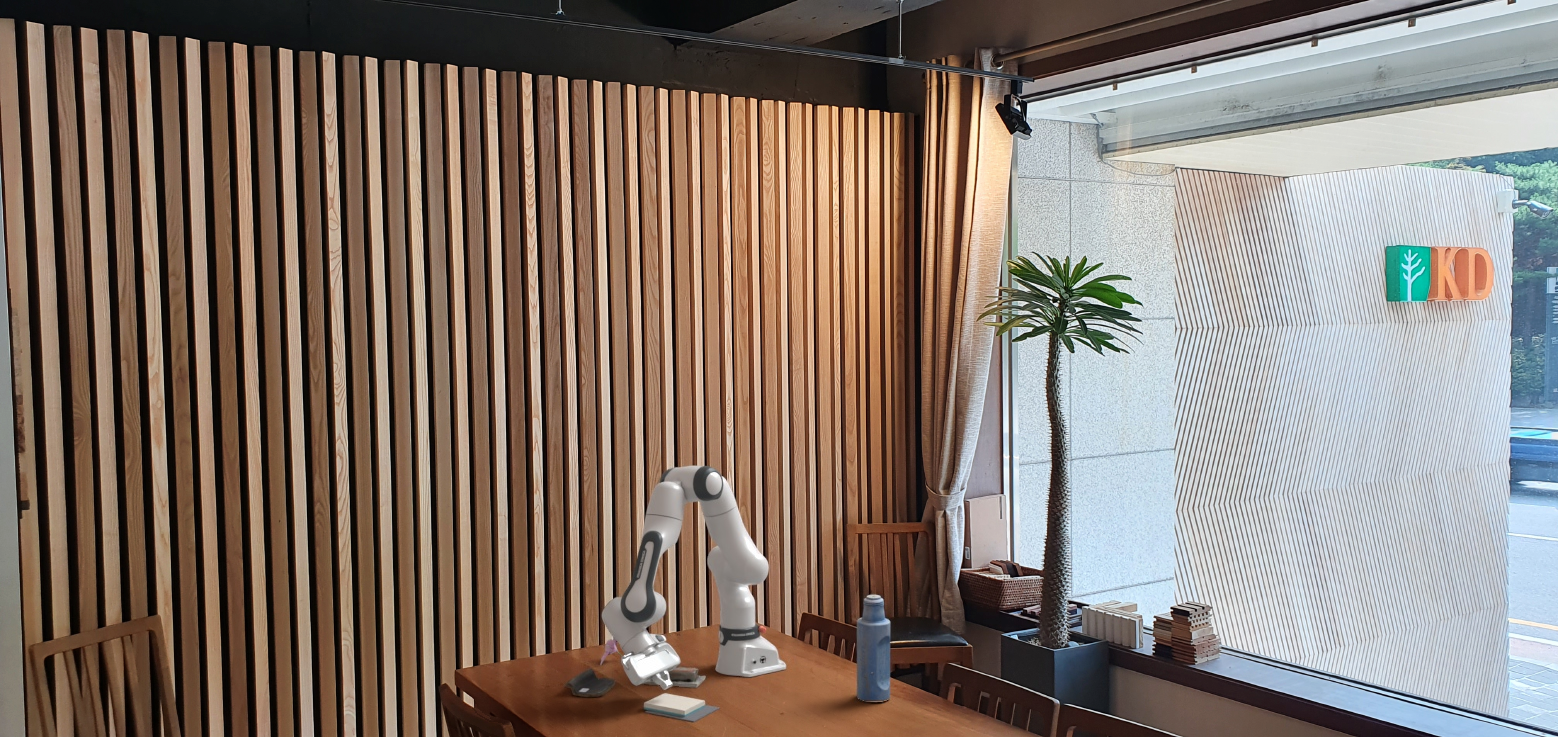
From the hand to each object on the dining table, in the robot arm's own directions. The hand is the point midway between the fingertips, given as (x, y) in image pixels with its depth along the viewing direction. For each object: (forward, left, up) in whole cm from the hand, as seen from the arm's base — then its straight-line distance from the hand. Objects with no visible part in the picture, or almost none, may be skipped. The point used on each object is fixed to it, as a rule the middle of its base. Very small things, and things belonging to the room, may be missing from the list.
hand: (668, 687), depth 310 cm
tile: (+3, -4, -5) cm, 7 cm away
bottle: (-57, +18, -6) cm, 60 cm away
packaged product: (-10, -23, -7) cm, 26 cm away
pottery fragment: (+15, -26, -6) cm, 31 cm away
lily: (+1, -53, -6) cm, 53 cm away
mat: (-3, +4, -6) cm, 8 cm away
